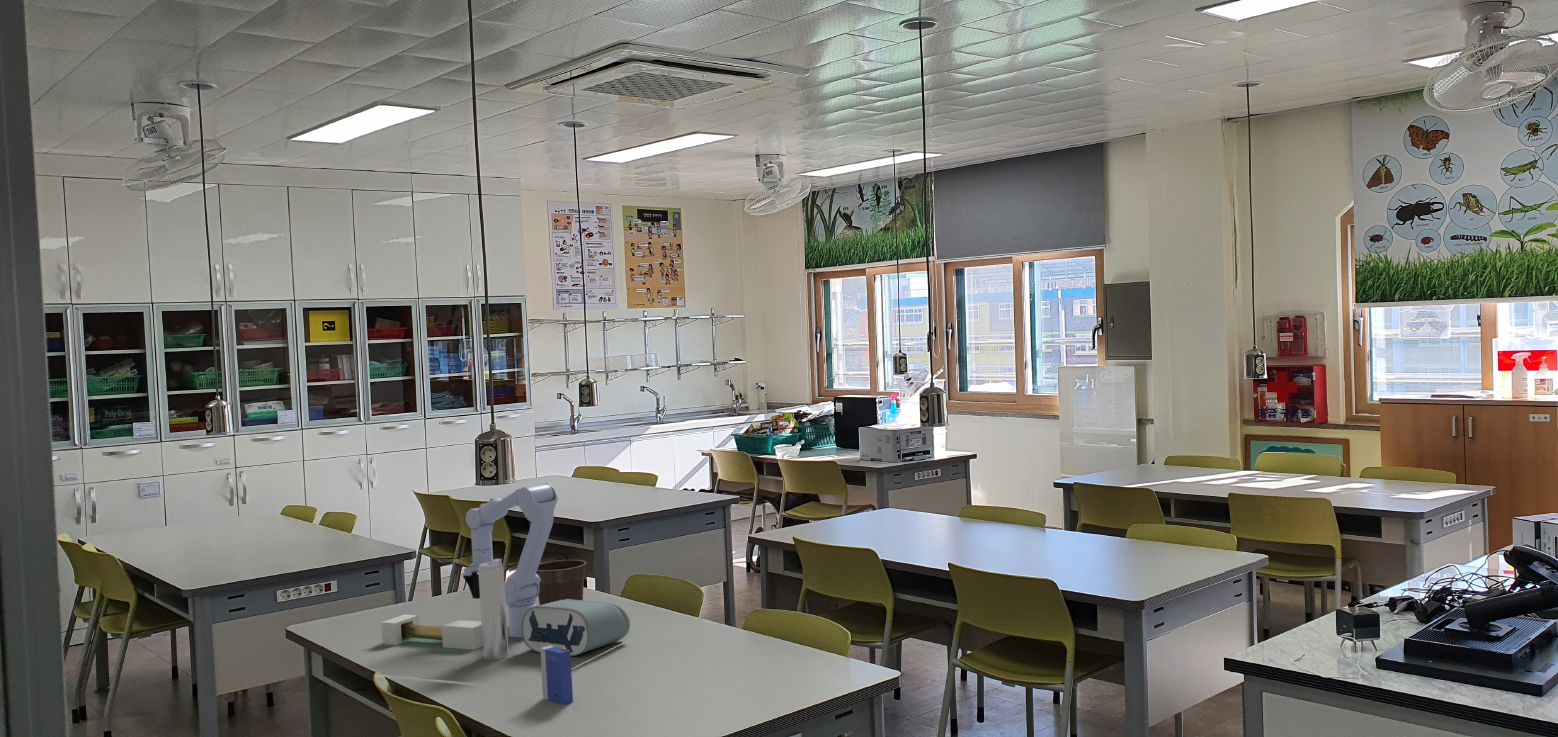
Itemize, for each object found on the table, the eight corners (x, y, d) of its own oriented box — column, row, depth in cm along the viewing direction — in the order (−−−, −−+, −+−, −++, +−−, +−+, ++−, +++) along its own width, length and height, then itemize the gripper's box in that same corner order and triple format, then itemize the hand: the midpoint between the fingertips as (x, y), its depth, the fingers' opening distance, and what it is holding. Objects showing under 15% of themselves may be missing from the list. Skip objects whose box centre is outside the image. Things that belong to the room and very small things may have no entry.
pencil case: (521, 653, 290) (520, 604, 290) (567, 638, 307) (566, 592, 307) (588, 660, 280) (587, 610, 280) (632, 644, 296) (631, 596, 297)
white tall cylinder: (502, 661, 283) (496, 565, 283) (478, 661, 284) (473, 565, 284) (513, 654, 289) (507, 560, 289) (490, 654, 291) (484, 560, 290)
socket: (419, 636, 312) (418, 615, 312) (396, 644, 304) (395, 623, 304) (405, 635, 314) (404, 614, 314) (382, 643, 306) (381, 622, 306)
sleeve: (489, 643, 300) (488, 621, 300) (474, 649, 295) (473, 627, 294) (458, 640, 305) (456, 619, 305) (442, 646, 299) (441, 625, 299)
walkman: (573, 701, 248) (570, 648, 247) (563, 704, 246) (560, 651, 245) (552, 695, 253) (549, 643, 253) (542, 698, 251) (539, 646, 251)
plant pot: (529, 616, 332) (526, 563, 331) (581, 608, 338) (578, 556, 338) (541, 627, 317) (537, 572, 317) (595, 619, 324) (592, 565, 323)
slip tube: (465, 639, 302) (464, 625, 302) (455, 643, 299) (455, 629, 299) (406, 635, 311) (405, 621, 310) (396, 638, 307) (395, 625, 307)
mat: (496, 642, 303) (496, 640, 303) (468, 654, 292) (468, 652, 292) (406, 635, 316) (406, 633, 316) (376, 647, 305) (375, 645, 305)
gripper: (487, 543, 327) (489, 588, 327) (454, 553, 314) (457, 600, 314) (506, 544, 324) (509, 589, 324) (474, 553, 311) (477, 601, 311)
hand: (484, 595), depth 319 cm, fingers open, 7 cm apart
